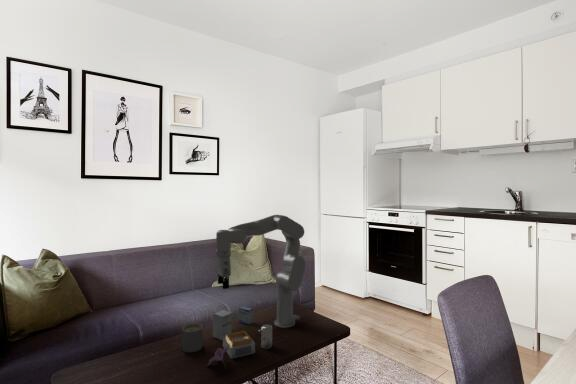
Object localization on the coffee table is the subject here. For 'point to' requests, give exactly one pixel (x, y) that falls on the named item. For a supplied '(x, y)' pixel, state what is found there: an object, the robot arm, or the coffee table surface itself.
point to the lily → (218, 355)
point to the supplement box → (222, 324)
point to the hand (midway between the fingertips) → (223, 286)
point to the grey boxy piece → (238, 344)
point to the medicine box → (245, 315)
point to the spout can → (266, 336)
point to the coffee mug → (192, 337)
